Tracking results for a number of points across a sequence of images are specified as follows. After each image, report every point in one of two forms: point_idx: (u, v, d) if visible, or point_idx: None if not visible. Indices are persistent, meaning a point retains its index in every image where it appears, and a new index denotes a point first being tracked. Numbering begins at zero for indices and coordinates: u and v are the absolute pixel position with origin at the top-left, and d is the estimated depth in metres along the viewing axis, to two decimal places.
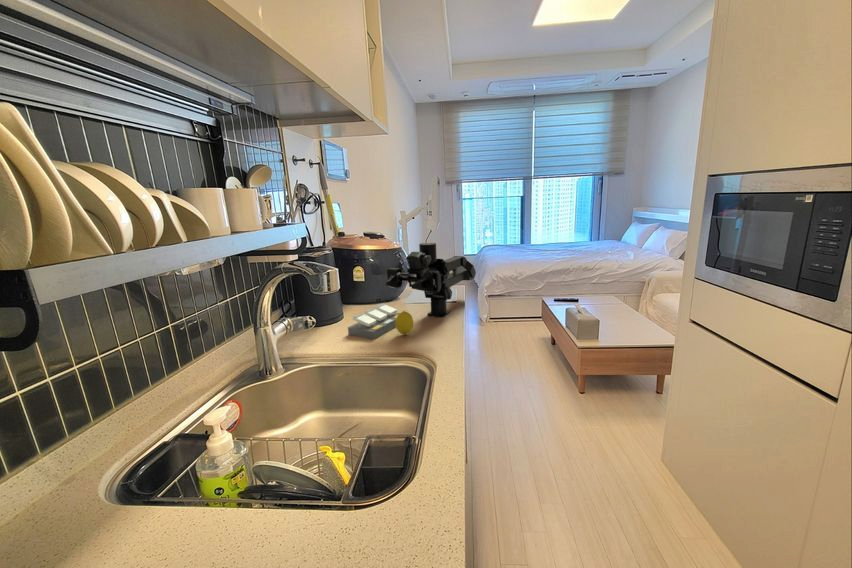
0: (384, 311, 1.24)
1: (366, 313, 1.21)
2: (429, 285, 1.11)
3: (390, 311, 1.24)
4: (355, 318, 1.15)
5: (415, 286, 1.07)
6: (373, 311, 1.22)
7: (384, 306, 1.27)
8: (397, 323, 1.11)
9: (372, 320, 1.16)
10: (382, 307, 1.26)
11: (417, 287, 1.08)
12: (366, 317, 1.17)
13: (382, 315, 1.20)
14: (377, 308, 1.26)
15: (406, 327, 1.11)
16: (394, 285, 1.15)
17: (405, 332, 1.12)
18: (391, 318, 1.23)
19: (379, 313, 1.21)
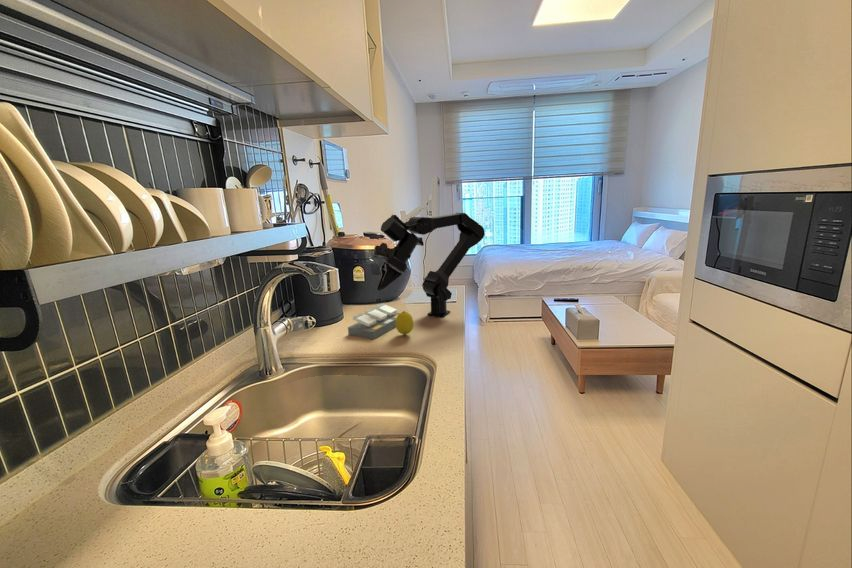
0: (384, 311, 1.24)
1: (366, 313, 1.21)
2: (395, 272, 1.12)
3: (390, 311, 1.24)
4: (355, 318, 1.15)
5: (383, 285, 1.13)
6: (373, 311, 1.22)
7: (384, 306, 1.27)
8: (397, 323, 1.11)
9: (372, 320, 1.16)
10: (382, 307, 1.26)
11: (385, 284, 1.13)
12: (366, 317, 1.17)
13: (382, 315, 1.20)
14: (377, 308, 1.26)
15: (406, 327, 1.11)
16: None
17: (405, 332, 1.12)
18: (391, 318, 1.23)
19: (379, 313, 1.21)
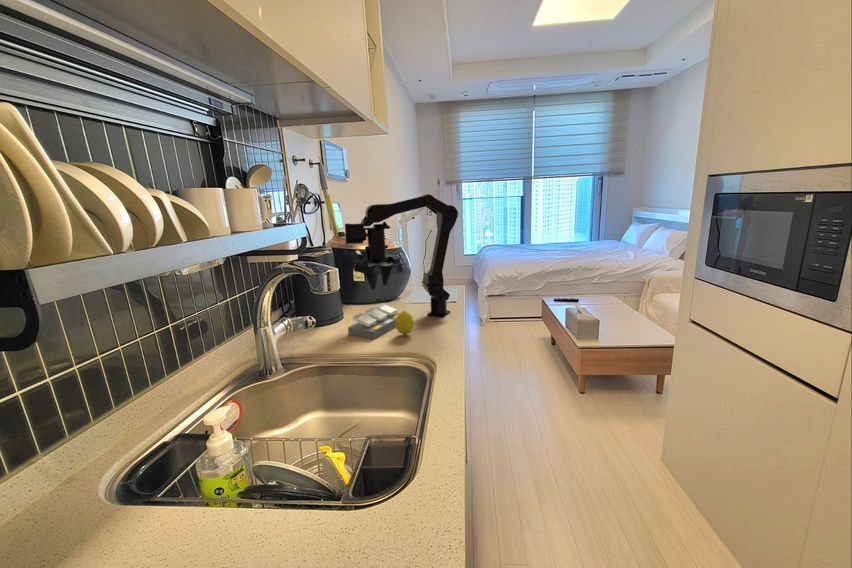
0: (384, 311, 1.24)
1: (366, 313, 1.21)
2: None
3: (390, 311, 1.24)
4: (355, 318, 1.15)
5: (372, 287, 1.22)
6: (373, 311, 1.22)
7: (384, 306, 1.27)
8: (397, 323, 1.11)
9: (372, 320, 1.16)
10: (382, 307, 1.26)
11: (373, 285, 1.22)
12: (366, 317, 1.17)
13: (382, 315, 1.20)
14: (377, 308, 1.26)
15: (406, 327, 1.11)
16: (387, 273, 1.27)
17: (405, 332, 1.12)
18: (391, 318, 1.23)
19: (379, 313, 1.21)
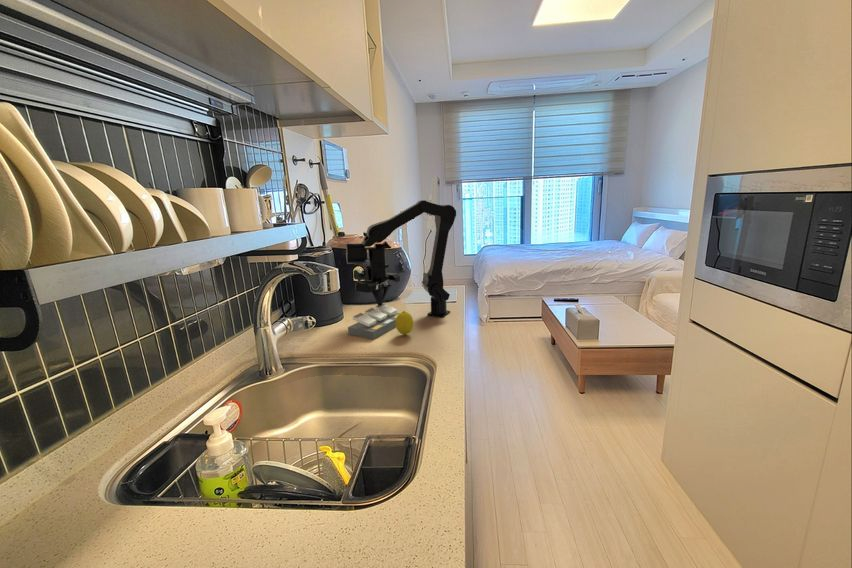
0: (384, 311, 1.24)
1: (366, 313, 1.21)
2: None
3: (390, 311, 1.24)
4: (355, 318, 1.15)
5: (378, 303, 1.27)
6: (373, 311, 1.22)
7: (384, 306, 1.27)
8: (397, 323, 1.11)
9: (372, 320, 1.16)
10: (382, 307, 1.26)
11: (379, 301, 1.26)
12: (366, 317, 1.17)
13: (382, 315, 1.20)
14: (377, 308, 1.26)
15: (406, 327, 1.11)
16: None
17: (405, 332, 1.12)
18: (391, 318, 1.23)
19: (379, 313, 1.21)
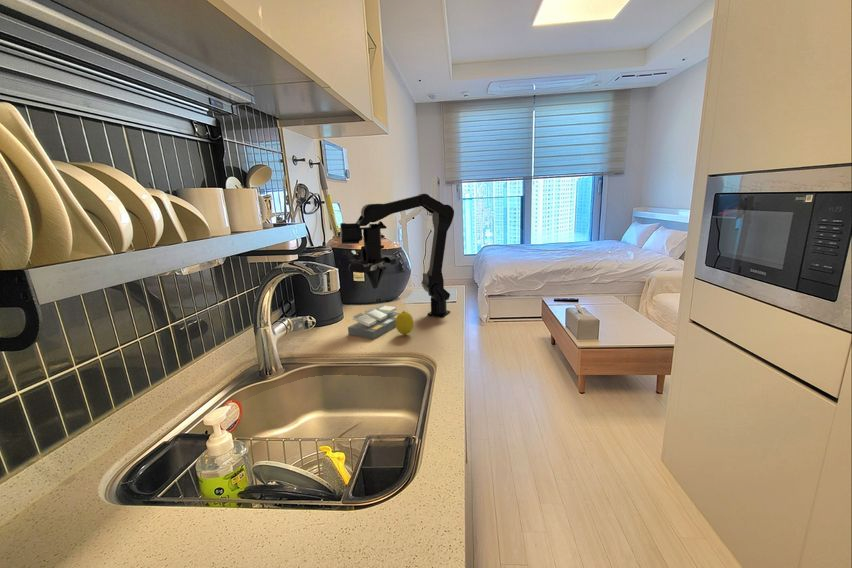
0: (384, 310, 1.24)
1: (366, 313, 1.21)
2: None
3: (389, 309, 1.24)
4: (355, 318, 1.15)
5: (373, 285, 1.23)
6: (373, 311, 1.22)
7: (383, 307, 1.27)
8: (397, 323, 1.11)
9: (372, 320, 1.16)
10: (381, 308, 1.26)
11: (374, 284, 1.23)
12: (366, 317, 1.17)
13: (382, 315, 1.20)
14: None
15: (406, 327, 1.11)
16: None
17: (405, 332, 1.12)
18: (391, 318, 1.23)
19: (379, 313, 1.21)
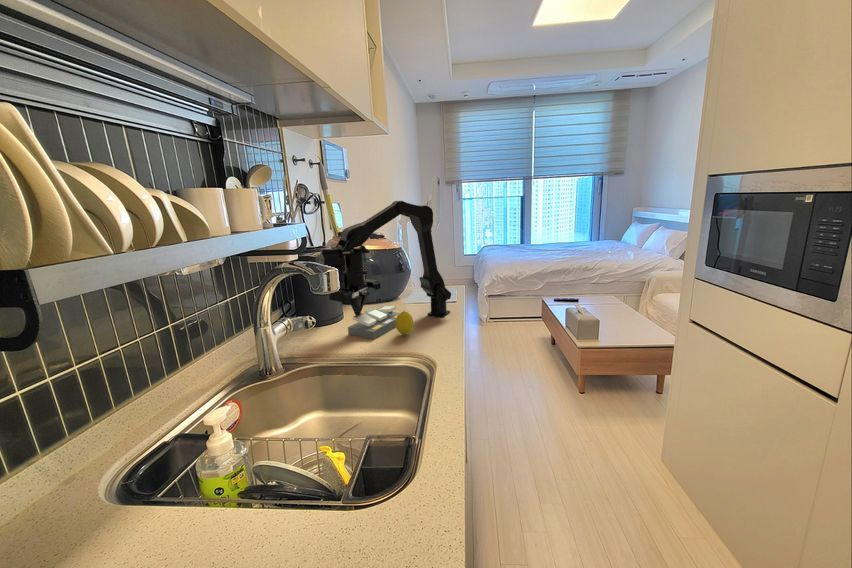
0: (383, 310, 1.24)
1: (366, 313, 1.21)
2: None
3: (389, 308, 1.24)
4: (355, 318, 1.15)
5: (356, 312, 1.16)
6: (373, 311, 1.22)
7: (383, 307, 1.27)
8: (397, 323, 1.11)
9: (372, 320, 1.16)
10: (381, 308, 1.26)
11: (356, 311, 1.16)
12: (366, 317, 1.17)
13: (382, 315, 1.20)
14: None
15: (406, 327, 1.11)
16: (361, 302, 1.16)
17: (405, 332, 1.12)
18: (391, 318, 1.23)
19: (379, 313, 1.21)
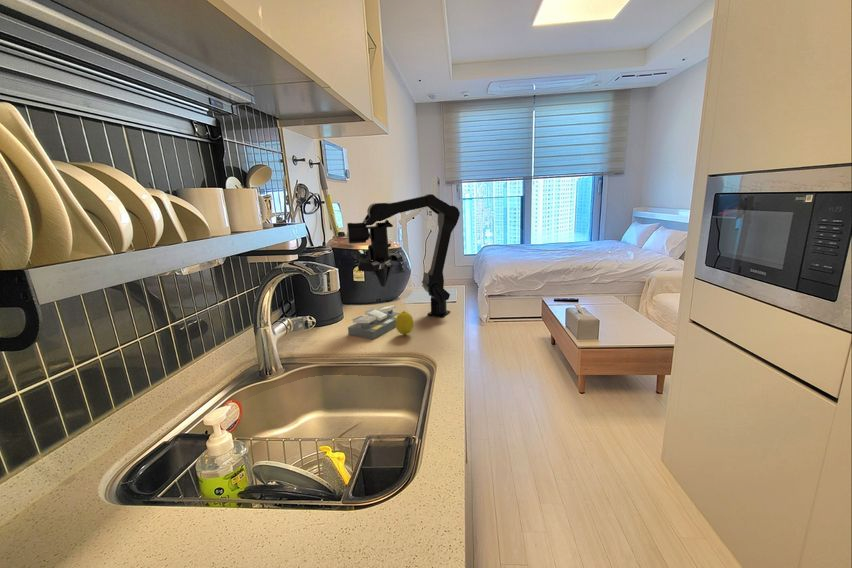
0: (383, 310, 1.24)
1: (366, 313, 1.21)
2: None
3: (388, 307, 1.24)
4: (354, 320, 1.16)
5: (382, 283, 1.24)
6: (373, 311, 1.22)
7: (383, 308, 1.27)
8: (397, 323, 1.11)
9: (371, 317, 1.16)
10: (381, 309, 1.26)
11: (382, 282, 1.24)
12: (365, 317, 1.17)
13: (382, 315, 1.20)
14: None
15: (406, 327, 1.11)
16: None
17: (405, 332, 1.12)
18: (391, 318, 1.23)
19: (379, 313, 1.21)
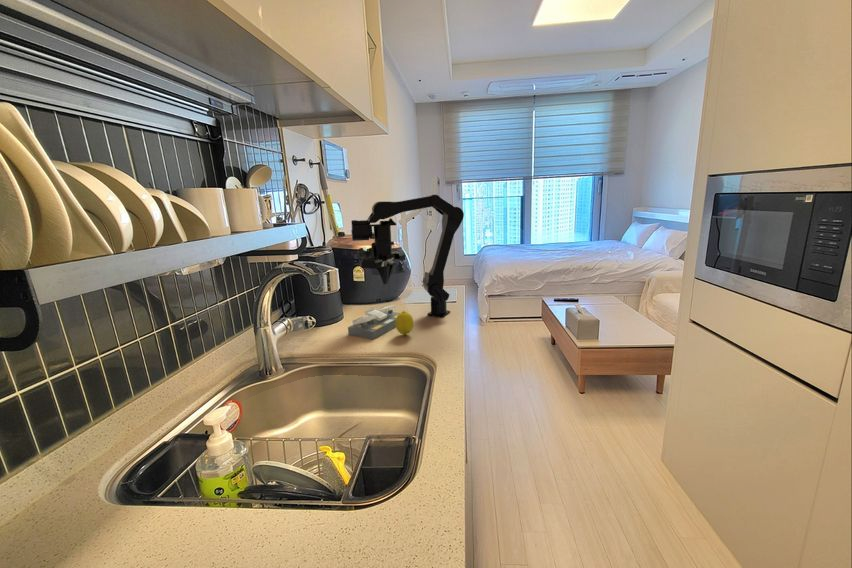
0: (383, 310, 1.24)
1: (366, 313, 1.21)
2: None
3: (388, 307, 1.24)
4: (354, 321, 1.16)
5: (384, 281, 1.26)
6: (373, 311, 1.22)
7: (383, 308, 1.28)
8: (397, 323, 1.11)
9: (370, 316, 1.16)
10: (381, 309, 1.26)
11: (384, 280, 1.25)
12: (365, 317, 1.17)
13: (382, 315, 1.20)
14: None
15: (406, 327, 1.11)
16: None
17: (405, 332, 1.12)
18: (391, 318, 1.23)
19: (379, 313, 1.21)
